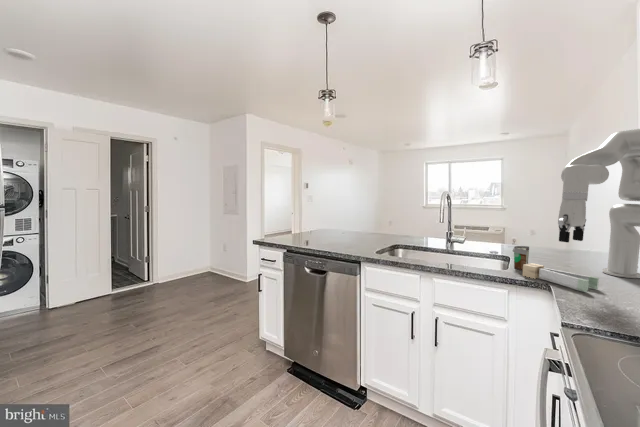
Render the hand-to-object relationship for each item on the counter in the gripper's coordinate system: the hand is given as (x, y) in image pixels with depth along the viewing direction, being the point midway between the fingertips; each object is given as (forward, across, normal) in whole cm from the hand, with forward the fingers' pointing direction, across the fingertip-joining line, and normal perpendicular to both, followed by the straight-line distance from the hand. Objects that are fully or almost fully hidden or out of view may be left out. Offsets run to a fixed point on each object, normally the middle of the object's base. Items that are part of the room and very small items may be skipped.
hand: (570, 241), depth 119 cm
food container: (+18, -9, -24) cm, 32 cm away
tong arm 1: (+17, +2, -1) cm, 17 cm away
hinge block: (+18, 0, -13) cm, 22 cm away
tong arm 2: (+17, -3, -1) cm, 18 cm away
